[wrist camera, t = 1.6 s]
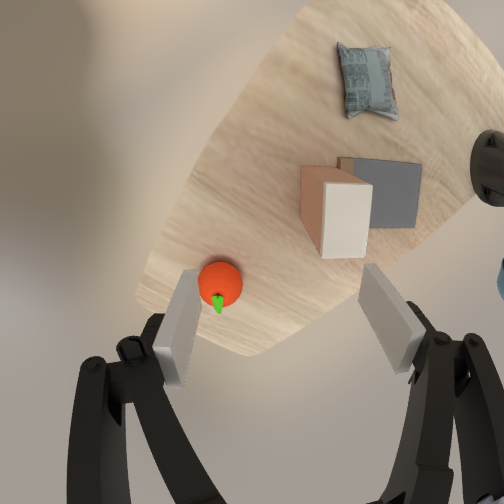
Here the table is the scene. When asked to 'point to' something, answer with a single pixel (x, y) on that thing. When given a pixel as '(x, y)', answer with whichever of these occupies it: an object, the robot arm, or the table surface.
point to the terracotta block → (335, 211)
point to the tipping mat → (388, 189)
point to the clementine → (220, 285)
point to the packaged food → (367, 81)
